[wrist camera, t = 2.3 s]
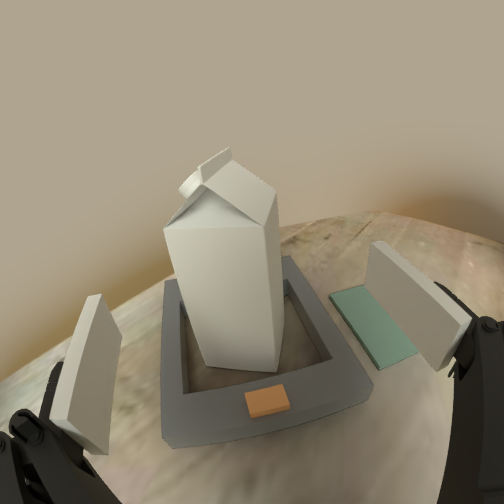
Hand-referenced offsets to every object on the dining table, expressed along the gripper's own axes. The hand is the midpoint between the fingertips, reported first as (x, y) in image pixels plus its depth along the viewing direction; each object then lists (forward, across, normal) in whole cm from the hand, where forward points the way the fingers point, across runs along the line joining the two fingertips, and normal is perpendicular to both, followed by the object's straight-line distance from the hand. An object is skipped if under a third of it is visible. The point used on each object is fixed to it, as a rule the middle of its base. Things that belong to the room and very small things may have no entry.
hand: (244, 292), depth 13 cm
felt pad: (+8, +18, -14) cm, 24 cm away
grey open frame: (+10, +1, -14) cm, 17 cm away
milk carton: (+10, +1, -14) cm, 18 cm away
